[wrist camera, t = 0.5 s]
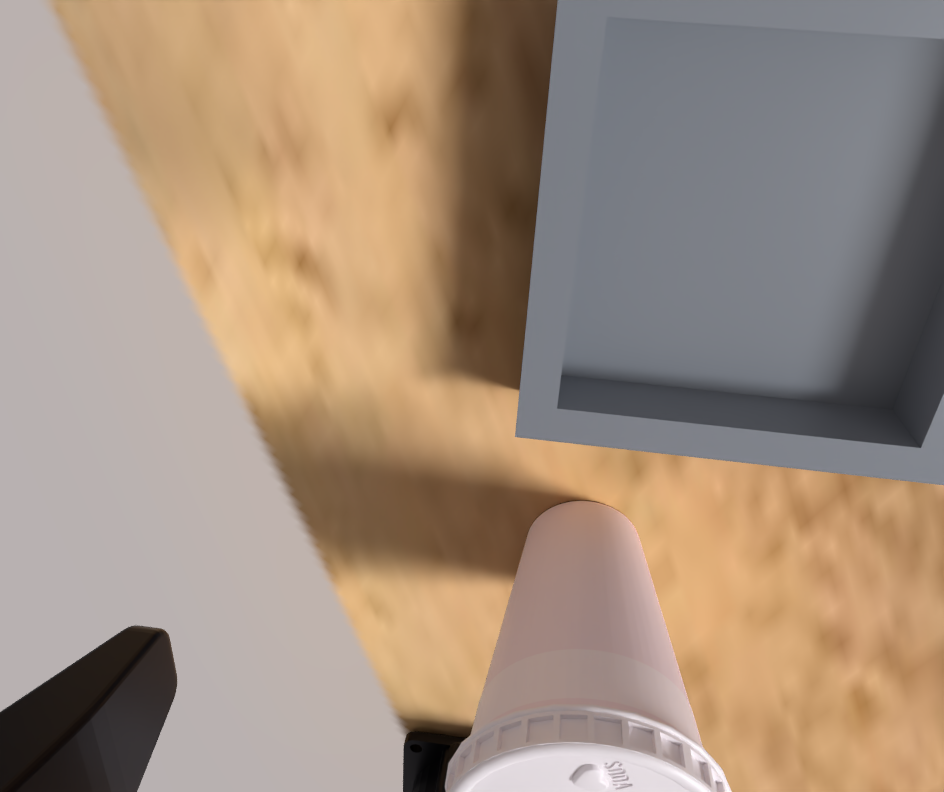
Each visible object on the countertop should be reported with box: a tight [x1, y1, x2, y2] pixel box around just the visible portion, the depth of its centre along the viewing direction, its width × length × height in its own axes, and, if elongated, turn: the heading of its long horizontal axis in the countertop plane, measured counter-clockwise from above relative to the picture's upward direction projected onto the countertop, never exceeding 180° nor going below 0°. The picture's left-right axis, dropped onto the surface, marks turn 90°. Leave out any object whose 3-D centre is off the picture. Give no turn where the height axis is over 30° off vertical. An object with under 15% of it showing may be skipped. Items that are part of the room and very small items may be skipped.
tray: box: [515, 0, 944, 485], centre depth 18 cm, size 11×11×2 cm
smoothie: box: [445, 501, 731, 792], centre depth 18 cm, size 6×6×14 cm
